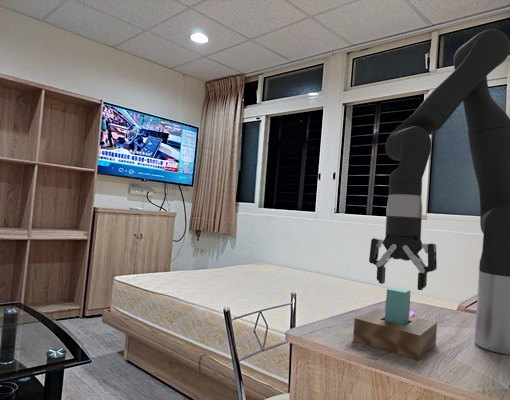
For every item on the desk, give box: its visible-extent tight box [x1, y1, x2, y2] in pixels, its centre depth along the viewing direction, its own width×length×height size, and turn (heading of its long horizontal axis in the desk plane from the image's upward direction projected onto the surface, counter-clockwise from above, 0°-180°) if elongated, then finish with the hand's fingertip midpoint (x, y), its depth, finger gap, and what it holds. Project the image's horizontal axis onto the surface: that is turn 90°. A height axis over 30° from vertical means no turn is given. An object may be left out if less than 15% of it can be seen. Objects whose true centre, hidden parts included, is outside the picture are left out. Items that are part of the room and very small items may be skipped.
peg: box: [384, 286, 411, 326], centre depth 84 cm, size 4×4×12 cm
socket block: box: [352, 308, 438, 361], centre depth 84 cm, size 14×14×5 cm
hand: (400, 286), depth 84 cm, fingers open, 8 cm apart
